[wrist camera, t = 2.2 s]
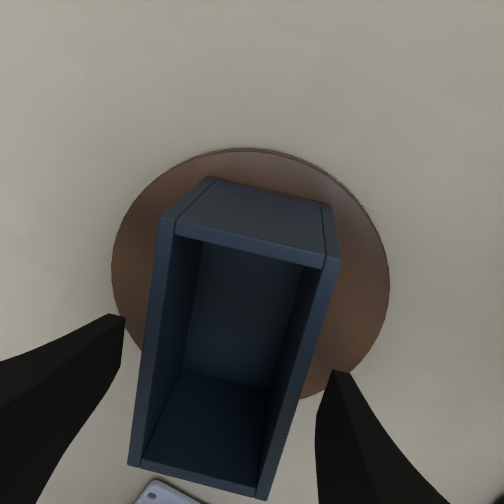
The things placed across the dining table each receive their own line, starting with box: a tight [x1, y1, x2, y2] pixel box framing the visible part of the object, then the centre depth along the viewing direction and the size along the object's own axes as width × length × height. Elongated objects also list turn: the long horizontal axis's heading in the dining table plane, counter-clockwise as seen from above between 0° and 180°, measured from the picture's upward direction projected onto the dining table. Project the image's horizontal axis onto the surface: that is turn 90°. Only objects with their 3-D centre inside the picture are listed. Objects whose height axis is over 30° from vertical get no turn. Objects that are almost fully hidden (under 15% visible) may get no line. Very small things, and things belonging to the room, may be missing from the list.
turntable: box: [111, 148, 390, 399], centre depth 20 cm, size 13×13×1 cm
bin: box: [127, 176, 343, 501], centre depth 17 cm, size 11×5×6 cm, turn 168°
